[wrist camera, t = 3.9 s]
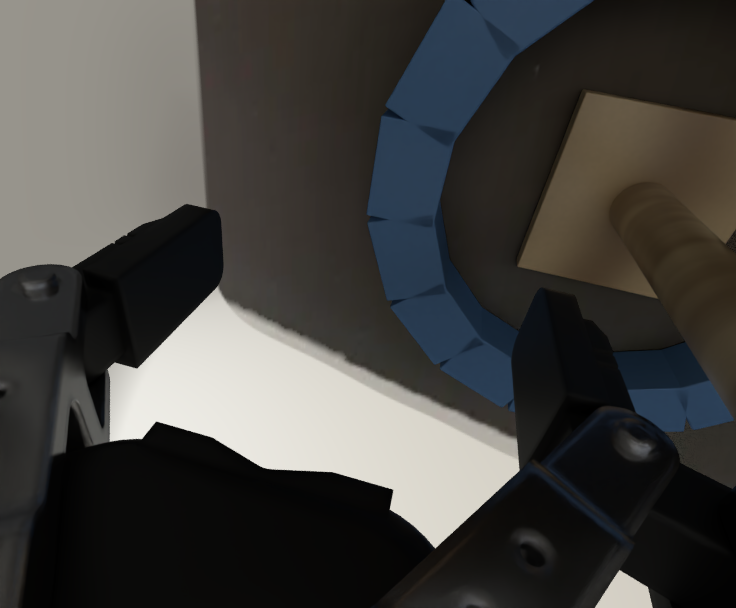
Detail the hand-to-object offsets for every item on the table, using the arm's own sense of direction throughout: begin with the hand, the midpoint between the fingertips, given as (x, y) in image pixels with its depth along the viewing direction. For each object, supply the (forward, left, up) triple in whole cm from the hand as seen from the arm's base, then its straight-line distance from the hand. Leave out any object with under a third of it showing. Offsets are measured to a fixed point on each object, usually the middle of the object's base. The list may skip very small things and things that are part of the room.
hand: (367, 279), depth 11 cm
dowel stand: (+10, 0, -12) cm, 15 cm away
